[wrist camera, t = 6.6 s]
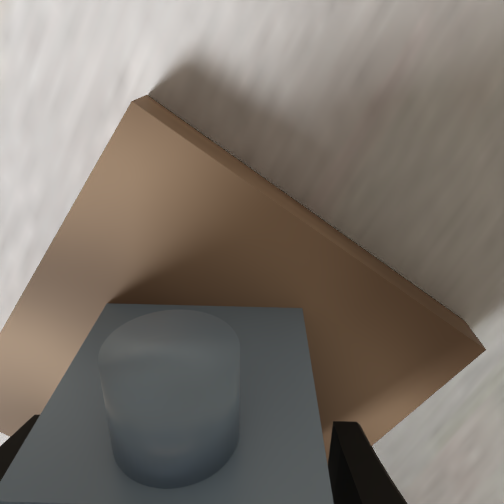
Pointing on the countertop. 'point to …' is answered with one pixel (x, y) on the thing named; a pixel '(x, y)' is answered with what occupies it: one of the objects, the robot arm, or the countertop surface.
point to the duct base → (225, 278)
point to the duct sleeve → (180, 413)
